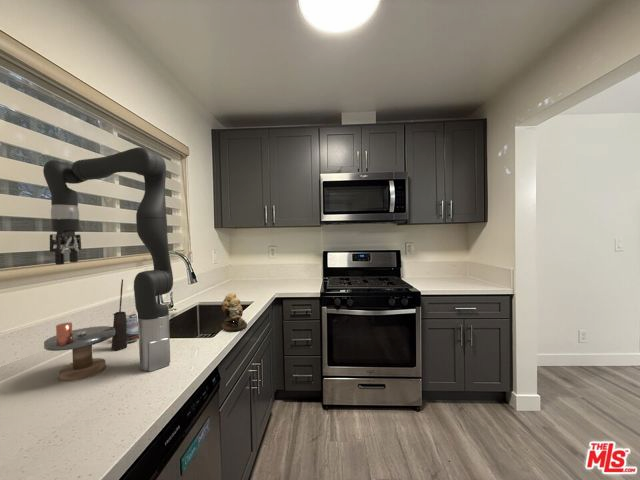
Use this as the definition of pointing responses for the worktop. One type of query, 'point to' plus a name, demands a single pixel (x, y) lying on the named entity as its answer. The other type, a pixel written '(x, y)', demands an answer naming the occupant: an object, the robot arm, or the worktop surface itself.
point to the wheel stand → (82, 365)
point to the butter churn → (119, 328)
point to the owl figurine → (233, 313)
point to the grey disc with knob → (77, 337)
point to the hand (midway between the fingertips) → (67, 263)
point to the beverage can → (132, 327)
